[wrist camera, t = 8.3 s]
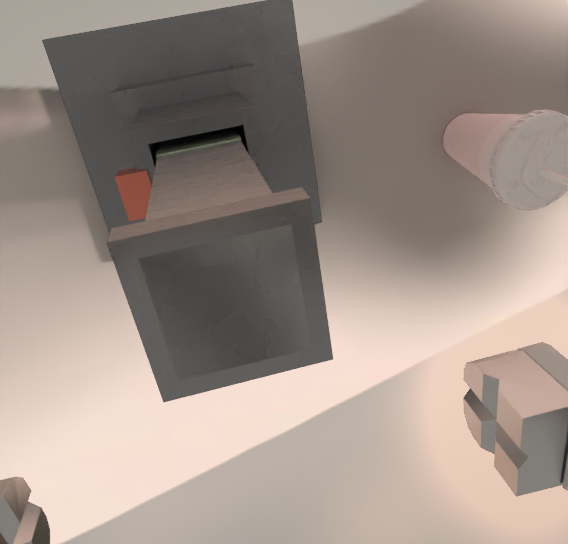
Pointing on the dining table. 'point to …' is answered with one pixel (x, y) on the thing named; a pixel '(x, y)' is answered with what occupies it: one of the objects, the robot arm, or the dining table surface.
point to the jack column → (221, 270)
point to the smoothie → (514, 154)
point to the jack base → (186, 97)
